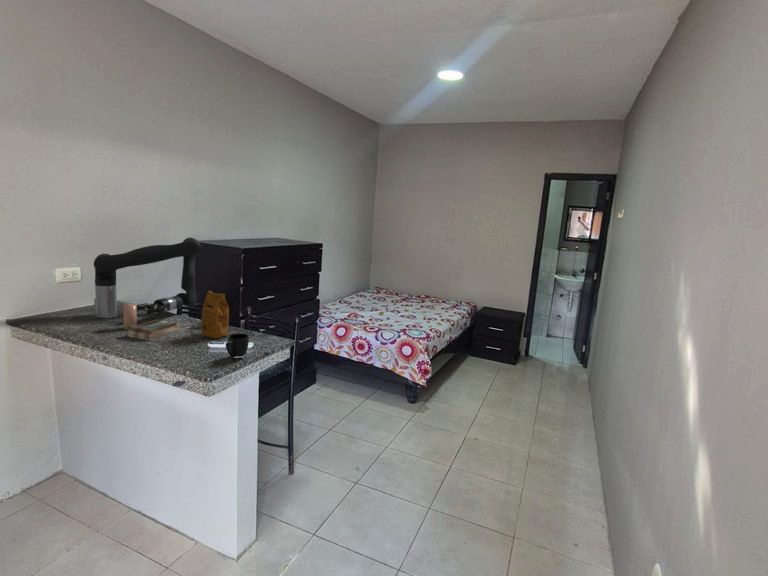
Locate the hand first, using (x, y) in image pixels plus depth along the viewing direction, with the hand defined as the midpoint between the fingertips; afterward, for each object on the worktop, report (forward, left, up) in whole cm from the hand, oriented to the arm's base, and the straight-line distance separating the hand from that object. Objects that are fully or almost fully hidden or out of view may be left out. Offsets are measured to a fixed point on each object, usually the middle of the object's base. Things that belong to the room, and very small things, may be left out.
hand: (140, 311), depth 210 cm
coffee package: (+40, +5, -8) cm, 41 cm away
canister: (0, -6, -8) cm, 10 cm away
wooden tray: (+15, -6, -8) cm, 18 cm away
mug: (+67, -17, -8) cm, 70 cm away
